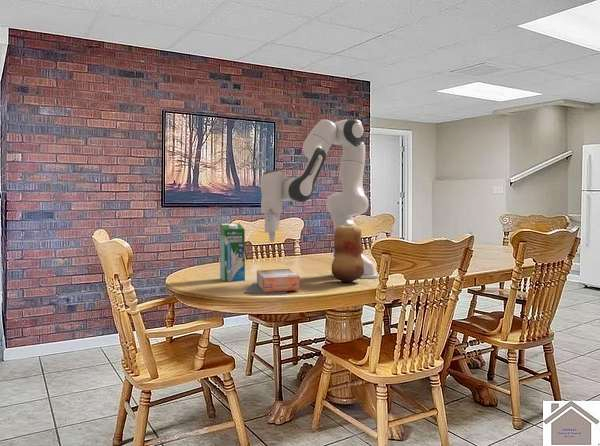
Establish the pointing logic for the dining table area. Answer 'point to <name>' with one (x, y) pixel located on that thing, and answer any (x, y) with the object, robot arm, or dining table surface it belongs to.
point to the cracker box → (277, 280)
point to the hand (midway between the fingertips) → (272, 241)
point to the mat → (257, 290)
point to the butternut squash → (347, 253)
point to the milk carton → (232, 252)
